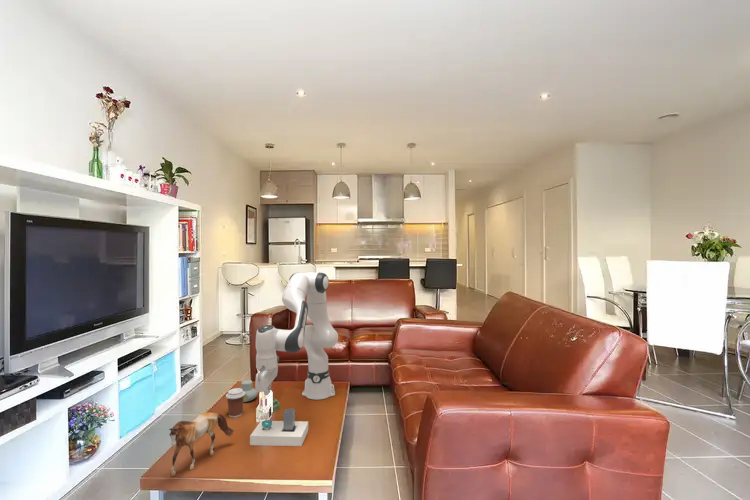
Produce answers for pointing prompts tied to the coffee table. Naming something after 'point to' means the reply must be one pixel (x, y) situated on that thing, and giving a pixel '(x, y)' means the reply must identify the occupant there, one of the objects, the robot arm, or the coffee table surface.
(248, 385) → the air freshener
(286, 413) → the peg
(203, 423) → the horse figurine
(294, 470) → the coffee table surface
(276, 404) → the decorative artifact
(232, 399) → the coffee cup
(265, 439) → the socket block
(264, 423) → the lock pin
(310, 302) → the robot arm
